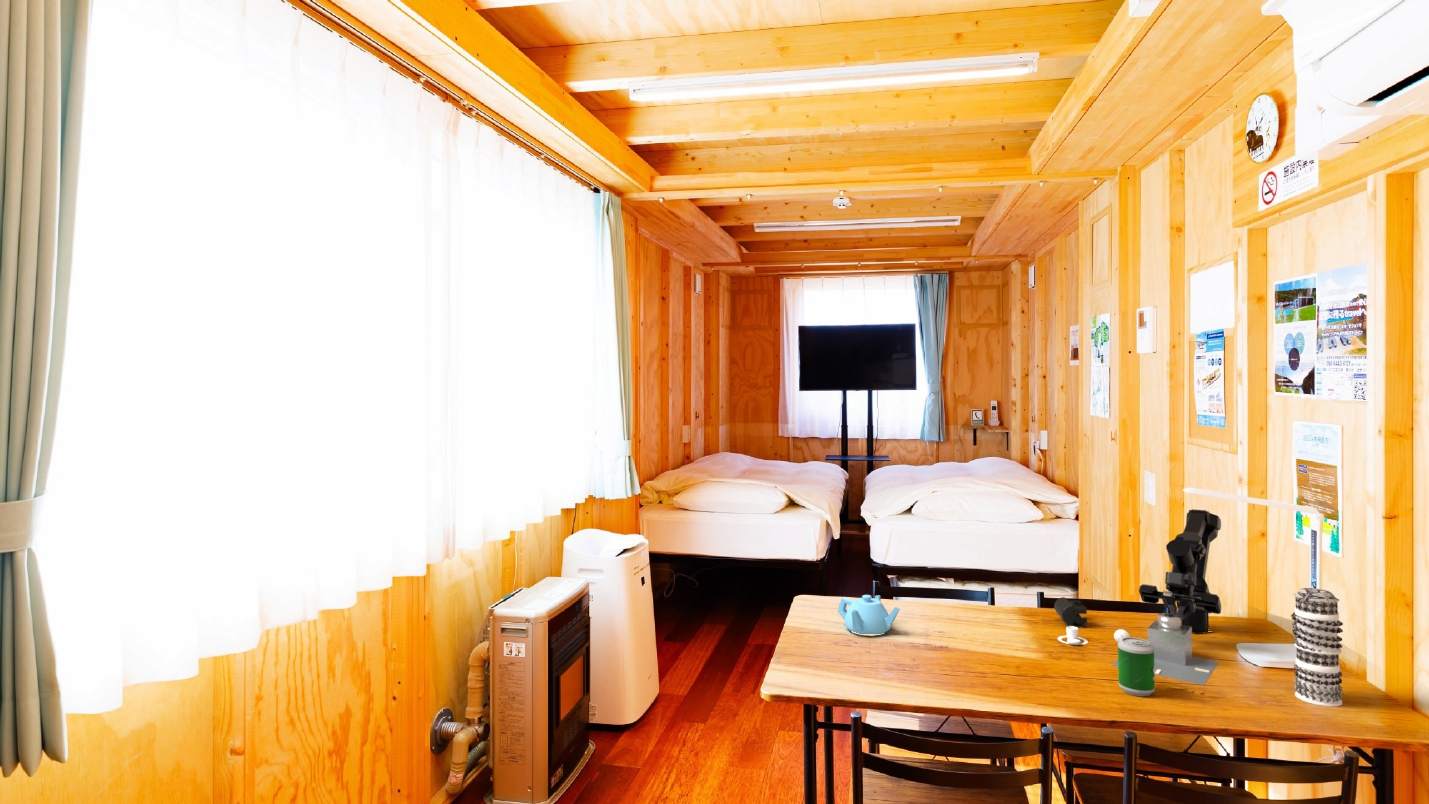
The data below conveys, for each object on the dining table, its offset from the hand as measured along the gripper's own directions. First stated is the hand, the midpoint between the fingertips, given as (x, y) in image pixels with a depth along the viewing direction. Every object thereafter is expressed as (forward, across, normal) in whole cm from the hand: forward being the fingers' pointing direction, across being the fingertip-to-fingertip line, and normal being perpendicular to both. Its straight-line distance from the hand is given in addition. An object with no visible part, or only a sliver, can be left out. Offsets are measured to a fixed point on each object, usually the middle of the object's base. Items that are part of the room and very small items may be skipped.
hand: (1174, 625), depth 196 cm
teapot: (+30, -75, -18) cm, 83 cm away
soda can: (+29, -2, -18) cm, 34 cm away
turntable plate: (+14, 0, -3) cm, 14 cm away
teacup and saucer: (+12, -26, +1) cm, 29 cm away
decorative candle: (+14, +30, -2) cm, 34 cm away
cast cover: (+9, 0, +1) cm, 9 cm away
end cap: (-2, -30, +14) cm, 33 cm away
